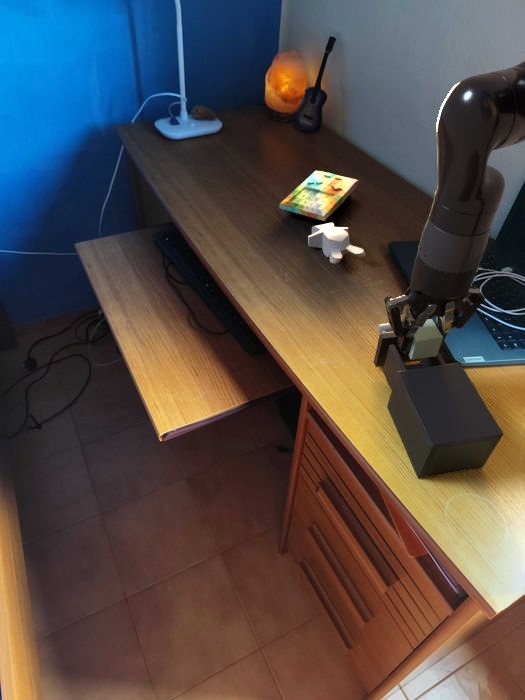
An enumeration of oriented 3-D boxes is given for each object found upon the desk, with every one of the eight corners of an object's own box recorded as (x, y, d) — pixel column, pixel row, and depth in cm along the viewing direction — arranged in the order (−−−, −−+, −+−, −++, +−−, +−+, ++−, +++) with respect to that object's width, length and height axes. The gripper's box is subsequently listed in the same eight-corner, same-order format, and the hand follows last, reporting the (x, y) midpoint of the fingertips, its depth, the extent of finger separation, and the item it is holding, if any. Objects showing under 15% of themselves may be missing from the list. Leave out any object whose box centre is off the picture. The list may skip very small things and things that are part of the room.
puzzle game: (359, 176, 117) (324, 212, 105) (356, 194, 120) (322, 231, 109) (317, 166, 121) (279, 200, 110) (316, 183, 125) (279, 218, 113)
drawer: (365, 344, 82) (371, 316, 77) (411, 338, 82) (419, 309, 78) (397, 417, 71) (406, 389, 66) (449, 409, 72) (462, 380, 67)
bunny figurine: (338, 214, 106) (371, 241, 95) (337, 235, 109) (369, 264, 98) (300, 222, 104) (329, 251, 93) (300, 243, 107) (328, 274, 96)
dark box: (386, 406, 73) (396, 371, 67) (444, 398, 74) (459, 362, 68) (417, 478, 65) (432, 445, 59) (482, 468, 66) (504, 434, 59)
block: (425, 337, 72) (432, 318, 69) (436, 356, 69) (443, 337, 66) (400, 341, 71) (406, 322, 68) (410, 360, 69) (416, 341, 66)
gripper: (405, 277, 54) (381, 373, 67) (519, 263, 56) (475, 359, 68) (384, 241, 59) (365, 336, 72) (488, 229, 61) (452, 325, 73)
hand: (419, 347), depth 70 cm, fingers closed on block, 4 cm apart
